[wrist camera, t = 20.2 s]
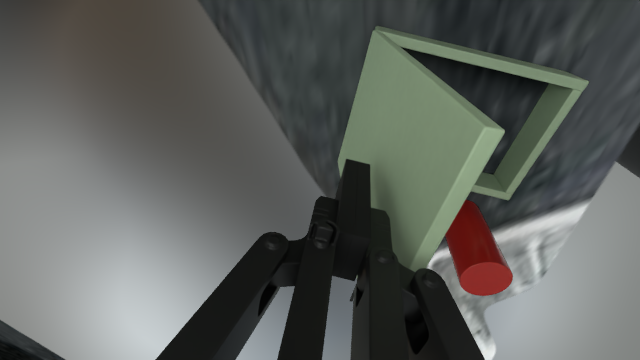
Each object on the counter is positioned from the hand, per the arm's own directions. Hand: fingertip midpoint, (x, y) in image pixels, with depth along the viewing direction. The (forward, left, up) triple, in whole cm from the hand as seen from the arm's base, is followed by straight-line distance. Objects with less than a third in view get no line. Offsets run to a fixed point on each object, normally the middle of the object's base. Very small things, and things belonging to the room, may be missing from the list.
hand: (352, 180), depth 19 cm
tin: (-18, +13, -20) cm, 30 cm away
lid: (-2, 0, -4) cm, 5 cm away
